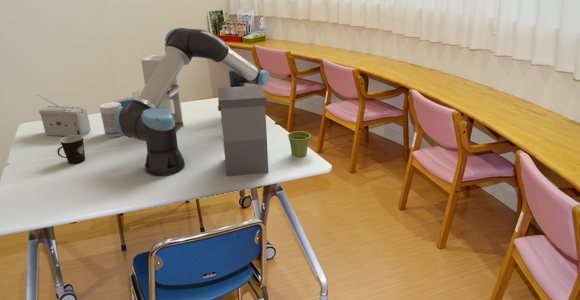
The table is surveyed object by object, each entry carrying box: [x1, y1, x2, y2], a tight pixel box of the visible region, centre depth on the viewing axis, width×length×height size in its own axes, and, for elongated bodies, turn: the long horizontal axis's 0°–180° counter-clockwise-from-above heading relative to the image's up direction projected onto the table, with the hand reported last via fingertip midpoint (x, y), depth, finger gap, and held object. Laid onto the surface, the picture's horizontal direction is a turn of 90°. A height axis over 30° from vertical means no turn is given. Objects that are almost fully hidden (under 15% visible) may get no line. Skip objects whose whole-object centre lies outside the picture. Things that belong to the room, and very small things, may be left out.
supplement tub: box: [99, 101, 123, 138], centre depth 212 cm, size 10×10×15 cm
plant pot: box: [287, 130, 311, 158], centre depth 186 cm, size 9×9×9 cm
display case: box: [140, 54, 184, 133], centre depth 213 cm, size 11×11×35 cm
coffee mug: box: [57, 135, 86, 165], centre depth 185 cm, size 12×9×10 cm
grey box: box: [217, 85, 270, 177], centre depth 173 cm, size 17×17×30 cm
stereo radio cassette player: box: [37, 95, 91, 137], centre depth 213 cm, size 21×8×20 cm, turn 77°
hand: (240, 112), depth 204 cm, fingers open, 13 cm apart
